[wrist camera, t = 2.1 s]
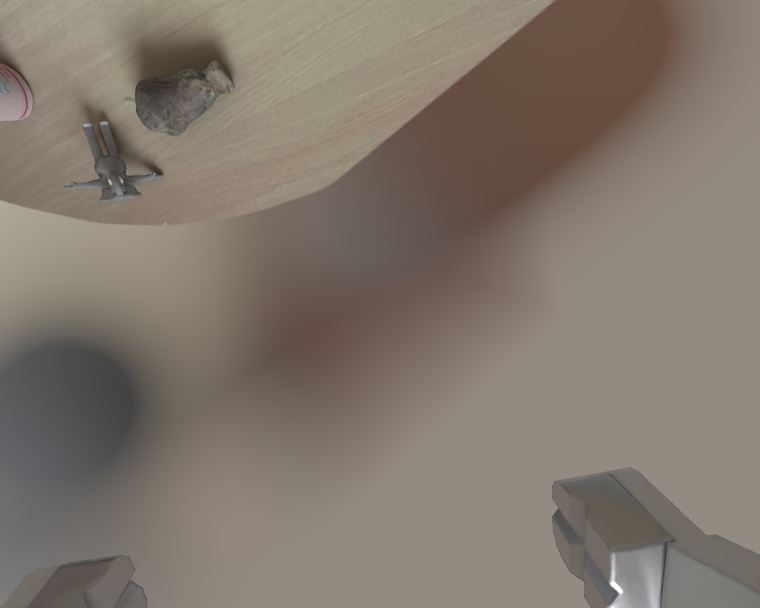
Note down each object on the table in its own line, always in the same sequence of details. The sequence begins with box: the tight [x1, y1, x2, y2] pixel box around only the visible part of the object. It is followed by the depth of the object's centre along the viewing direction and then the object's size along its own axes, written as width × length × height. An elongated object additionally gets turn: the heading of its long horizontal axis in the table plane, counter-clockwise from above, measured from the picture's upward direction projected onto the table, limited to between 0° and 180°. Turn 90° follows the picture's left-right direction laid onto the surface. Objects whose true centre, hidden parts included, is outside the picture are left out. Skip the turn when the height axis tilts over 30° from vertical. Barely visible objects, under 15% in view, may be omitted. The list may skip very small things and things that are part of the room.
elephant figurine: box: [63, 121, 164, 202], centre depth 45 cm, size 10×6×9 cm
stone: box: [135, 61, 234, 136], centre depth 41 cm, size 10×5×8 cm
